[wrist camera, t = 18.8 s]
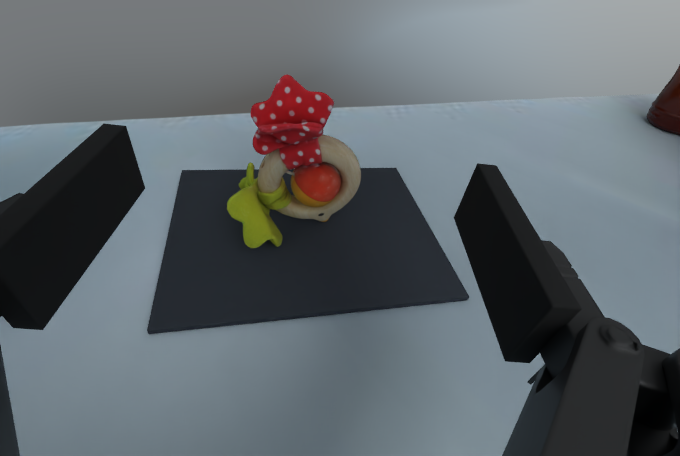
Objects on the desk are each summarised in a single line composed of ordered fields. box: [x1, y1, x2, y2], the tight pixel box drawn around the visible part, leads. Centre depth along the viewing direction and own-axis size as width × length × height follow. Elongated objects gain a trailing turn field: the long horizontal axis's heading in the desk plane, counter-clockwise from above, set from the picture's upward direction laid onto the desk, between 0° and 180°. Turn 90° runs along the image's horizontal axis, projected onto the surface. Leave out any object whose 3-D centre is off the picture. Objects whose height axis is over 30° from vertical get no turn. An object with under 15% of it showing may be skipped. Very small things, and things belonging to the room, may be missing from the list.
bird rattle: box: [227, 75, 361, 248], centre depth 24 cm, size 6×11×9 cm
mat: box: [147, 168, 469, 334], centre depth 28 cm, size 20×16×1 cm
